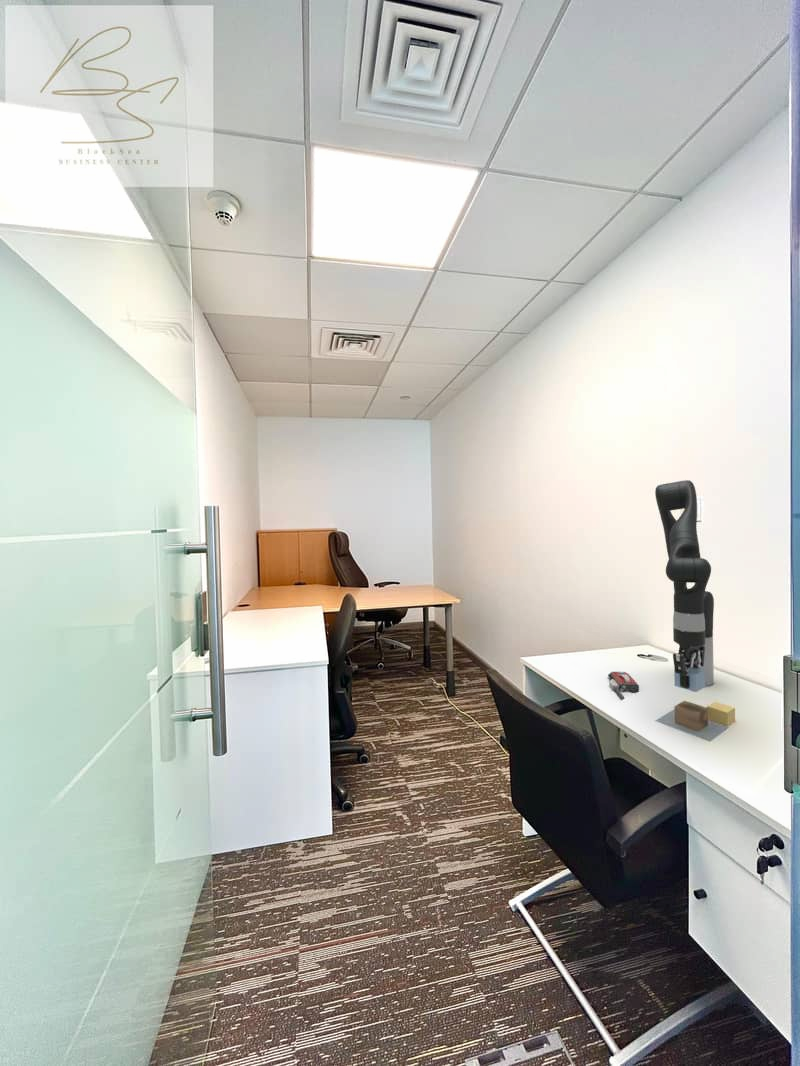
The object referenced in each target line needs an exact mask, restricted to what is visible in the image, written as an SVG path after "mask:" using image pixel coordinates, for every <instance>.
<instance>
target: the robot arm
mask: <svg viewBox="0 0 800 1066" xmlns="http://www.w3.org/2000/svg"><path fill="white" fill-rule="evenodd" d="M654 491H655V492H654V493H655V500H656V504H657V509H658V511H659V515H660V519H661V523H662V528H663V532H664V533H663V534H664V538H665V539H664V540H665V543H666V544H665V546H666V551H667V552H666V553H667V556H668V557H667V558H668V560H667V563H666V566H665V575H666V576H667V578H668V579H669V580H670V581H671V582H673V590H674V591H673V592H674V593H673V616H672V617H673V618H672V628H673V629H672V630H673V636H672V637H673V642H674V643H676V644H677V645H678V646H679V647H678V653H675V652H674V653H673V654H672V659H673V667H674V669H675V673H678V674H680V686H681V687H683V688H687V689H688V688H689V687H690V681H689V674H690V669H691V668H693V667H695V668H699V669H703V670H705V687H707V686H709V687H710V686H713V685H714V679H715V677H714V611H715V609H714V608H715V599H714V595H713V594H712V592H711V591H707V590H706V588H707V586H708V585H707V584H708V582H709V580H710V576H711V573H712V566H711V564H710V562H709V561H708V559H705V558H702V557H701V553H700V552H701V551H700V543H699V538H698V530H697V523H698V522H697V520H698V497H697V491H696V487H695V484H694V483H693V482H692V481H691V480H686V479H685V480H679V481H674V482H667V483H662V484H658V485H657V486H656V488H655V490H654ZM676 510H677V511H678V510H683V512H682V513H681V515H680V516H679V518H678V519H676V518H675V517H674V515H673V514H672V511H676ZM688 583H690V584H692V583H693V584H694V585H692V587H690V588H689V587H688V585H687V584H688ZM678 667H679V669H678ZM686 667H687V668H686ZM683 688H682V689H683ZM687 689H686V690H687Z"/></svg>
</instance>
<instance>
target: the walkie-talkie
mask: <svg viewBox="0 0 800 1066" xmlns="http://www.w3.org/2000/svg"><path fill="white" fill-rule="evenodd" d="M607 676H608V677H607V678H609V682H608V683H609V684H608V685H609V687H610V689H611V691H613V692H616V693H617V695H618V696H619V697H620V699H622V700H625V697H624V695H623V694H622V693H623V692H625V693H626V692H628V693H639V692H640V686H639V685H640V684H638V683H637V682H636V680H635V679H634V677H633V678H632V676H631V674H629V673H628V672H626V671H611V672H610V673H608V675H607ZM620 691H621V692H620Z"/></svg>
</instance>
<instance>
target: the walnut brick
mask: <svg viewBox="0 0 800 1066" xmlns="http://www.w3.org/2000/svg"><path fill="white" fill-rule="evenodd" d="M673 710H674V711H675V723H676V724H679V725H682V726H684V727H687V728H690V729H692V730H695V731H700V730H701V729H703V728H704V727H706V726H707V725H708V708H707V707H706V706H703V705H700V704H696V703H694V702H690V701H687V700H683V701H681V702H680V703H678V704H676V705H674V708H673Z"/></svg>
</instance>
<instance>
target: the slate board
mask: <svg viewBox="0 0 800 1066" xmlns="http://www.w3.org/2000/svg"><path fill="white" fill-rule="evenodd" d="M655 722H657V723H660V724H662V725H665V726H668V727H669V728H670V727H671V728H673V729H675V730H679V731H681V732H684V733H686V734H689V735H692V736H694V737H697V738H699V739H702V740H704V741H707V742H712V741H713V740H714V739H716V738H717V737H719V735H721V734H722V733H724V732H725V731H726V730H727V729H729V728H730V726H726V725H723V724H720V723H717V722H714V721H711V720H708V725H707V726H706V727H704V728H703V729H701V730H700V731H695V730H692V729H690V728H687V727H684V726H682V725H679V724H676V723H675V711H674V709H672V710H671V711H668V712H667V713H666V714H663V715H662V716H661V717H659V718H656V719H655Z"/></svg>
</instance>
